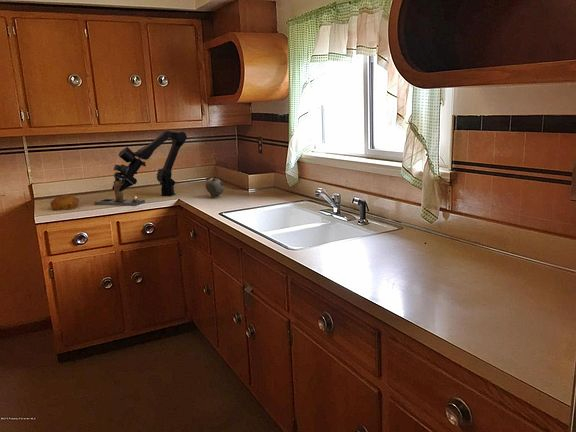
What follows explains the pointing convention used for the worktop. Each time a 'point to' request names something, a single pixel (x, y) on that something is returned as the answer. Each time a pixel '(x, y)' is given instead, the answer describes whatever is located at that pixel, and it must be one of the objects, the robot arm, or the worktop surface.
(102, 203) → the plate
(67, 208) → the bread loaf
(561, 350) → the worktop surface
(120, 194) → the dowel
